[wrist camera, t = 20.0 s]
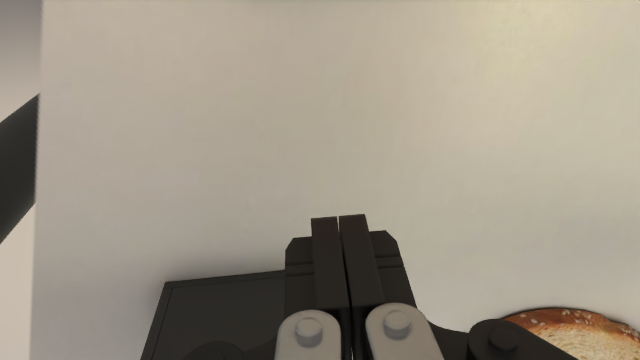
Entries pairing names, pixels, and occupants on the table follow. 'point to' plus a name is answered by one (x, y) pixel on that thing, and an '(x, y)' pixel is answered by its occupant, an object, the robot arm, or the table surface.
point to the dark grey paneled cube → (216, 314)
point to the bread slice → (582, 333)
